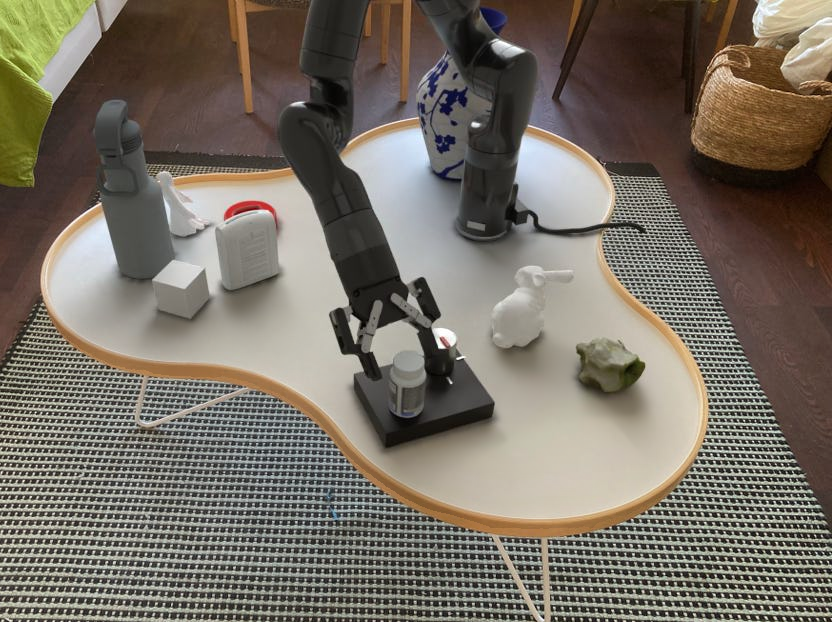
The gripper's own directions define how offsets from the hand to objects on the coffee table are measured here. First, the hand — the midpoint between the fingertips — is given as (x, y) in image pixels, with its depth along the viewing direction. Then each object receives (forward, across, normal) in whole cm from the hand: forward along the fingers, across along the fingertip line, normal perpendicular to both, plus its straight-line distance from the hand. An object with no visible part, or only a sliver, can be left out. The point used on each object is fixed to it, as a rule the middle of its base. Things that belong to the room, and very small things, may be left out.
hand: (405, 368), depth 95 cm
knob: (+2, +8, +7) cm, 11 cm away
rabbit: (+3, +26, +11) cm, 28 cm away
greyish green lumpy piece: (+13, +29, 0) cm, 32 cm away
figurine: (-36, -8, +49) cm, 61 cm away
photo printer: (-22, -4, +35) cm, 41 cm away
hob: (+6, +4, +7) cm, 10 cm away
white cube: (-21, -17, +34) cm, 43 cm away
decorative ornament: (-32, +2, +45) cm, 55 cm away
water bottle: (-31, -18, +44) cm, 56 cm away
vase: (-30, +49, +44) cm, 72 cm away
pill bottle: (+5, 0, +4) cm, 6 cm away
